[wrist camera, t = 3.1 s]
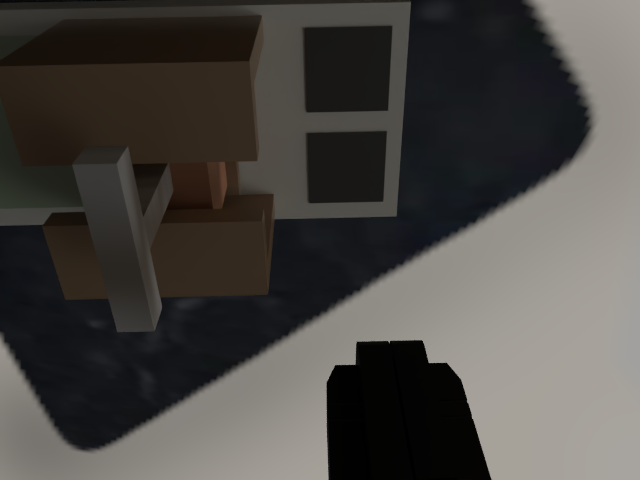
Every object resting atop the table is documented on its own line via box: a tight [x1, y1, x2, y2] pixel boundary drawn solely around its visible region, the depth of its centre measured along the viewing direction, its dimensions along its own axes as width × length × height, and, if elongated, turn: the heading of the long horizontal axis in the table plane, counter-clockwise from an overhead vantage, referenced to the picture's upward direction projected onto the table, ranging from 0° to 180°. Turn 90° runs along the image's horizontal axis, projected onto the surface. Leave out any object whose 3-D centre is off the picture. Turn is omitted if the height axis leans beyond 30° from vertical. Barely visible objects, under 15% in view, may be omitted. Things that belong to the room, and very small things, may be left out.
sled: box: [72, 146, 241, 332], centre depth 21 cm, size 6×5×10 cm
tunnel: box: [0, 0, 411, 300], centre depth 24 cm, size 10×20×8 cm, turn 91°
